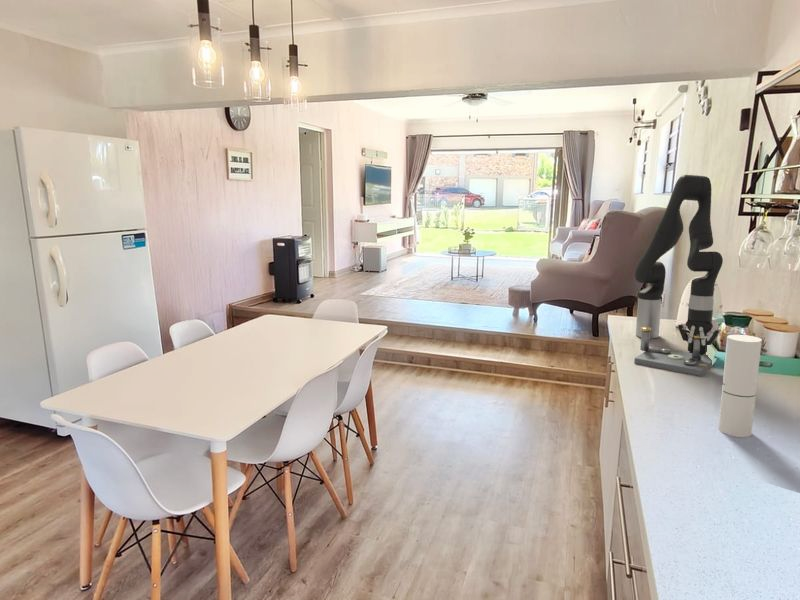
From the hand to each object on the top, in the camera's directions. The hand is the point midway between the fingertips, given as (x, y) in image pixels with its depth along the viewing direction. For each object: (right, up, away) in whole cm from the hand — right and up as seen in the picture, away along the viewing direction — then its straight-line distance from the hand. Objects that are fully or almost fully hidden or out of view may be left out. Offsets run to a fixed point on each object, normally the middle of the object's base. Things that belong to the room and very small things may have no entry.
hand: (696, 353), depth 179 cm
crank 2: (-3, -3, -2) cm, 4 cm away
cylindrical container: (-21, -15, -51) cm, 57 cm away
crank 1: (-9, -1, +11) cm, 15 cm away
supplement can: (+9, -2, +11) cm, 15 cm away
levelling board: (-6, -4, +4) cm, 8 cm away
